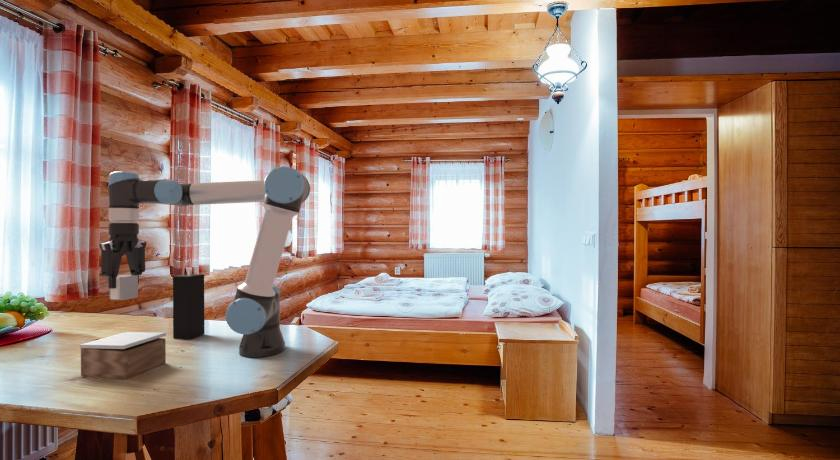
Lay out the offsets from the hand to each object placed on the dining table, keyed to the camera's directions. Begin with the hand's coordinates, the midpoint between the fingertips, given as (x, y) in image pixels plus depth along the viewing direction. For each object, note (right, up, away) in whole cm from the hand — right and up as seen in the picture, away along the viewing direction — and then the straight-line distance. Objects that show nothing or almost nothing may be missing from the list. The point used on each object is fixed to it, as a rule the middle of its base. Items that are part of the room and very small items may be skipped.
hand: (124, 297), depth 123 cm
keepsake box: (0, -22, 0) cm, 22 cm away
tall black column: (-1, -22, +36) cm, 43 cm away
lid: (0, -14, 0) cm, 14 cm away
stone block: (0, 0, 0) cm, 0 cm away
